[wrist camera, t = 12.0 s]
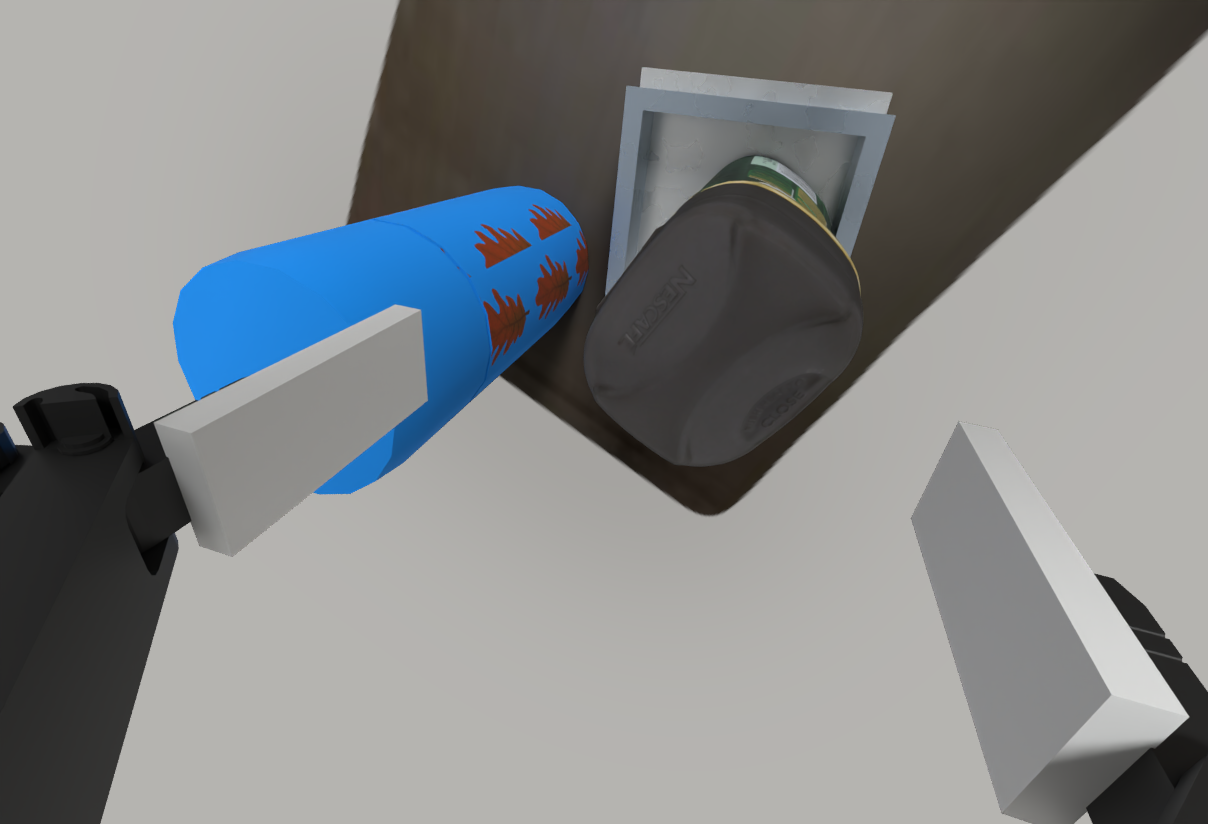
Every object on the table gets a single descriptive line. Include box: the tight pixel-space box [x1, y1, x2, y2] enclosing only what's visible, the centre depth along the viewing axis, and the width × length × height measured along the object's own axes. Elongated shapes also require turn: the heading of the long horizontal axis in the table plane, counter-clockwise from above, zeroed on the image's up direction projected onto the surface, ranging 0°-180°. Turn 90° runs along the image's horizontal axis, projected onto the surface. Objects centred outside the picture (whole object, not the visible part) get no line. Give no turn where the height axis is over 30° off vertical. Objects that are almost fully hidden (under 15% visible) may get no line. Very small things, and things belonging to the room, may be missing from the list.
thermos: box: [173, 186, 589, 494], centre depth 33 cm, size 11×11×25 cm
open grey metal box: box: [605, 67, 896, 296], centre depth 34 cm, size 13×17×9 cm
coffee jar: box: [583, 155, 863, 467], centre depth 25 cm, size 10×8×19 cm
